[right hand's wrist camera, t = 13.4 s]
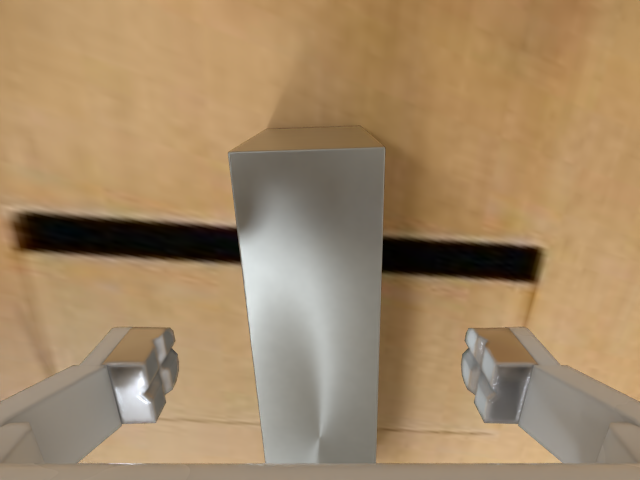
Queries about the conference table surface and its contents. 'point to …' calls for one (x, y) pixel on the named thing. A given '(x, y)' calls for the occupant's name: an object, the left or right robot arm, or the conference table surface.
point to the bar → (313, 287)
